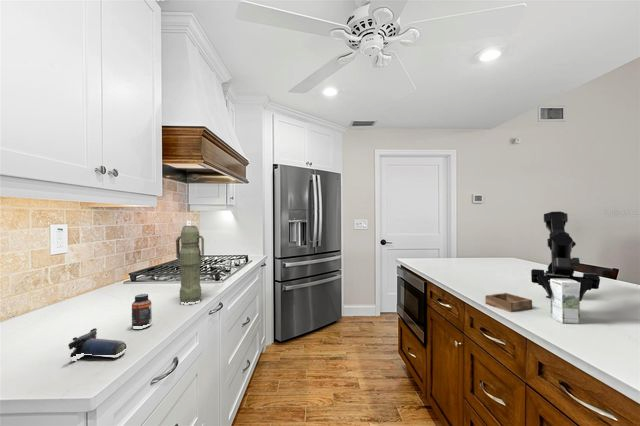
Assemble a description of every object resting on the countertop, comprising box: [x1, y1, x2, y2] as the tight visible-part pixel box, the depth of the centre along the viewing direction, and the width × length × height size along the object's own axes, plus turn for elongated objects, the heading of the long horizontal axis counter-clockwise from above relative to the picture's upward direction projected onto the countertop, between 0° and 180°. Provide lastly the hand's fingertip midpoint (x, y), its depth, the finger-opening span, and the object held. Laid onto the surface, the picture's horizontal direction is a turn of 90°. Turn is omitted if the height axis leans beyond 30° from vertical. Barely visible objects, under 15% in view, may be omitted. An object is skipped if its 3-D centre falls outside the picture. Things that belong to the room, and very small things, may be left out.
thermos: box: [175, 225, 205, 303], centre depth 130 cm, size 9×12×35 cm
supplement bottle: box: [131, 293, 153, 327], centre depth 101 cm, size 6×6×11 cm
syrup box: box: [550, 279, 581, 325], centre depth 100 cm, size 6×6×14 cm
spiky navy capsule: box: [67, 327, 127, 358], centre depth 80 cm, size 9×8×12 cm
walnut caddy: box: [485, 292, 533, 313], centre depth 117 cm, size 11×11×4 cm
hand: (565, 298), depth 98 cm, fingers closed on syrup box, 7 cm apart
